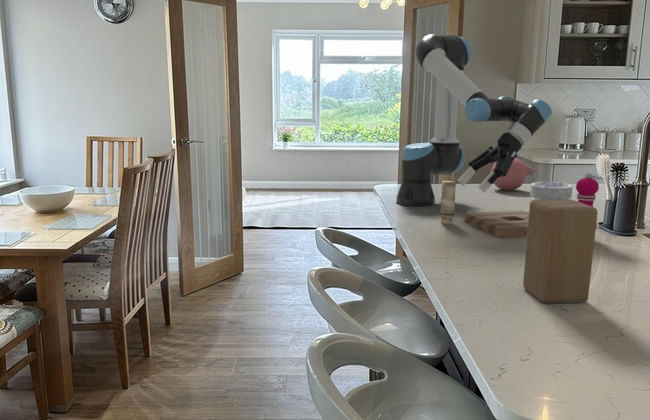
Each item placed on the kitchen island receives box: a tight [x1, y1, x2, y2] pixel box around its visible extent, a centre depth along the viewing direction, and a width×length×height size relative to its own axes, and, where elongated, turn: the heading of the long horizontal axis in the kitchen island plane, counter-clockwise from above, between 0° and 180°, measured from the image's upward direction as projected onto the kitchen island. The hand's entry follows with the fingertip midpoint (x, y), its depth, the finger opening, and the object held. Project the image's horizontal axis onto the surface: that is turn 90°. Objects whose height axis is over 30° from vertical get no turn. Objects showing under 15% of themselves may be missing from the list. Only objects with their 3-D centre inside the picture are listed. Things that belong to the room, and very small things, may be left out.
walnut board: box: [464, 209, 529, 239], centre depth 174 cm, size 22×22×3 cm
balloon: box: [490, 157, 538, 192], centre depth 243 cm, size 15×20×15 cm
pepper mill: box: [575, 172, 600, 229], centre depth 158 cm, size 7×7×20 cm
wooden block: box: [522, 198, 598, 304], centre depth 112 cm, size 10×10×20 cm
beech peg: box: [439, 180, 457, 226], centre depth 178 cm, size 4×4×14 cm
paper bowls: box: [529, 181, 573, 200], centre depth 214 cm, size 15×15×8 cm
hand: (470, 186), depth 178 cm, fingers open, 13 cm apart
